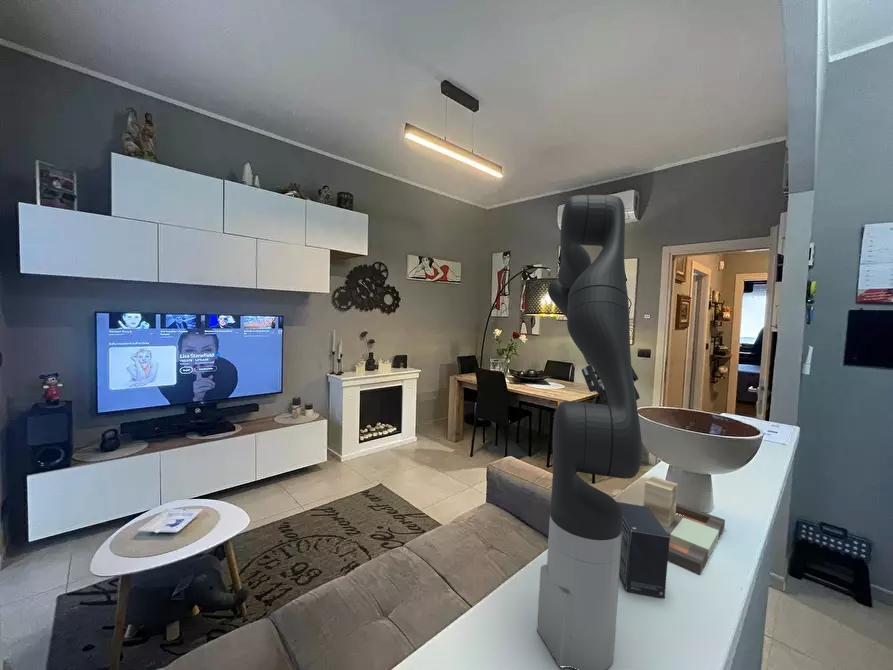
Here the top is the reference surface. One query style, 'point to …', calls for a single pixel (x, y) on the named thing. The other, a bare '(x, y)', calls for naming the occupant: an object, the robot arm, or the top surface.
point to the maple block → (661, 499)
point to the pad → (694, 535)
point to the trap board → (696, 554)
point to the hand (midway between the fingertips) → (623, 403)
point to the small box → (643, 551)
